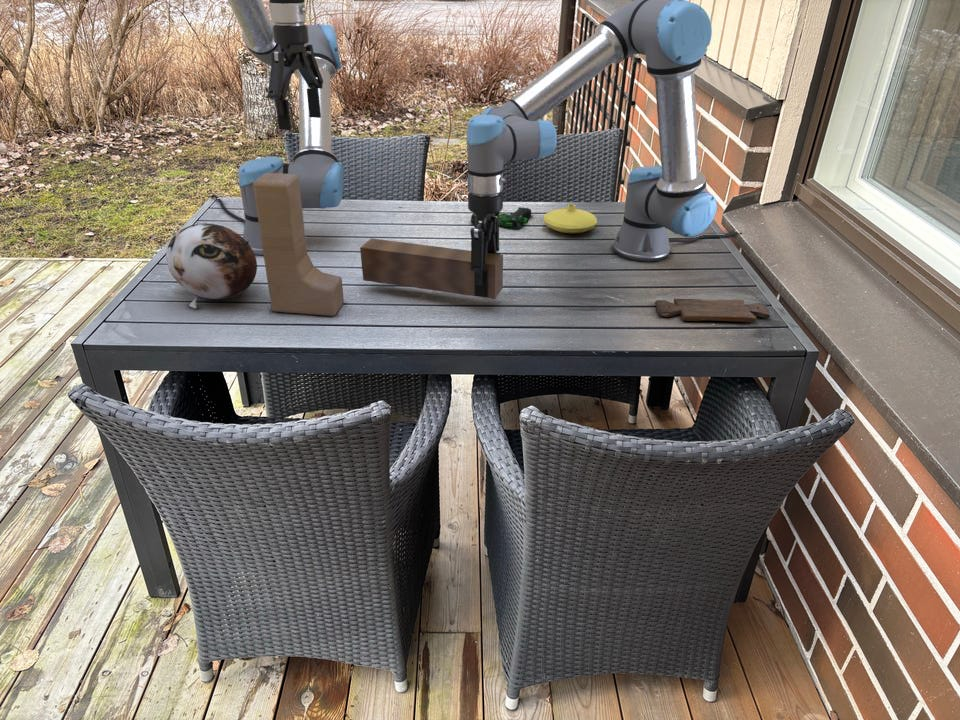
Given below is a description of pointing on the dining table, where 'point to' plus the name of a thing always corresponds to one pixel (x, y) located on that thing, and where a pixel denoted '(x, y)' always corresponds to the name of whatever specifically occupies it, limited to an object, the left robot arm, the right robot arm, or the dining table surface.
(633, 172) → the right robot arm
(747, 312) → the wooden paddle board
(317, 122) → the left robot arm
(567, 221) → the yellow round domed disc
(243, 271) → the cat face balloon
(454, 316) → the dining table surface
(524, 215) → the handgun
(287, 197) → the decorative block
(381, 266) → the bar
